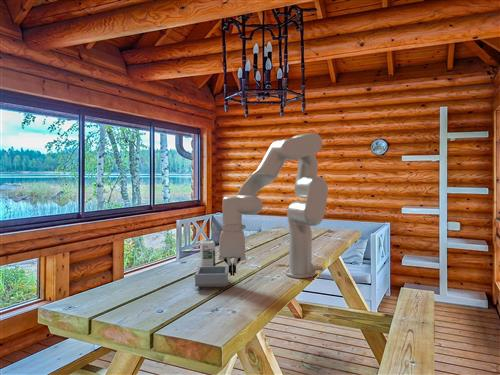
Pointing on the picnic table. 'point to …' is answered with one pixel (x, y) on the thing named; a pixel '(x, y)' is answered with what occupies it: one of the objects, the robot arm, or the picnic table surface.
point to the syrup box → (207, 253)
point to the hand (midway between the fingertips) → (232, 274)
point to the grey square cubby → (211, 276)
